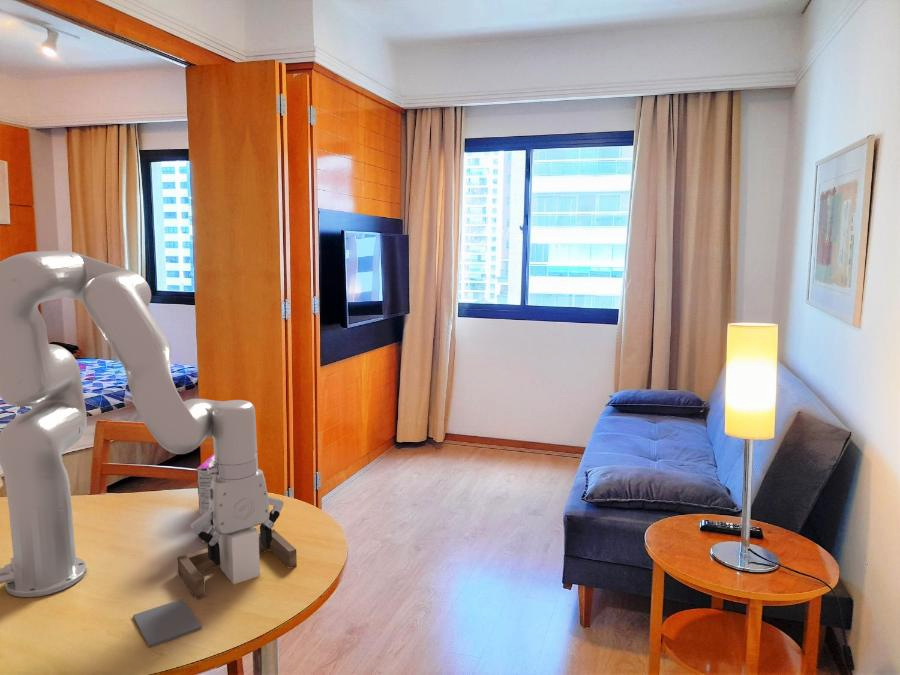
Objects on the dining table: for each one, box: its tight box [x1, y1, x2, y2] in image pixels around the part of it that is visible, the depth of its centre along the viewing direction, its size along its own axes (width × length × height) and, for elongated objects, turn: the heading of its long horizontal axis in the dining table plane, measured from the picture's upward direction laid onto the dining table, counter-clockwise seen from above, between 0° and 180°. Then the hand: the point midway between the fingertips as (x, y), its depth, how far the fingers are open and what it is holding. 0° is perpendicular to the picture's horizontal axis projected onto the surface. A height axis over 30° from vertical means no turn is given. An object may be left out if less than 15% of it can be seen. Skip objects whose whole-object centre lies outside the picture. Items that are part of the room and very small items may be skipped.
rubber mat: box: [132, 598, 203, 648], centre depth 106 cm, size 8×10×1 cm
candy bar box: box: [196, 453, 219, 544], centre depth 137 cm, size 11×5×16 cm, turn 179°
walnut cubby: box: [176, 528, 298, 600], centre depth 122 cm, size 19×10×4 cm, turn 129°
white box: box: [218, 526, 261, 585], centre depth 121 cm, size 5×7×9 cm
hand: (241, 553), depth 122 cm, fingers open, 9 cm apart
